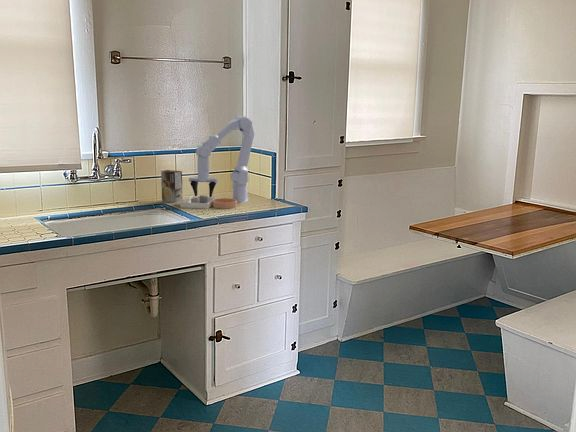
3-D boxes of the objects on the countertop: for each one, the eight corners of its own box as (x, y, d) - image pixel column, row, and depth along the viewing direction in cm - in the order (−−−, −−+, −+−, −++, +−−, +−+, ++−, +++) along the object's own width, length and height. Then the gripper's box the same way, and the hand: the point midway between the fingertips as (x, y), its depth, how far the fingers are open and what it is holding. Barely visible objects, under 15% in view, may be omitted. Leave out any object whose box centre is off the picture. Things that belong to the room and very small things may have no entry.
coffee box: (183, 201, 317) (182, 170, 313) (175, 203, 311) (174, 172, 308) (169, 200, 321) (168, 169, 317) (161, 201, 315) (160, 170, 312)
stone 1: (192, 205, 305) (192, 197, 305) (200, 205, 305) (200, 198, 304) (189, 206, 301) (189, 199, 301) (198, 207, 301) (198, 199, 300)
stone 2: (200, 202, 314) (200, 195, 313) (208, 202, 313) (208, 195, 312) (198, 203, 310) (198, 196, 309) (206, 203, 309) (206, 196, 308)
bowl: (216, 204, 311) (216, 197, 310) (239, 205, 309) (239, 198, 308) (209, 209, 300) (209, 202, 299) (233, 210, 298) (233, 203, 297)
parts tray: (192, 201, 317) (192, 196, 317) (217, 203, 315) (217, 197, 314) (180, 208, 300) (180, 202, 299) (207, 209, 298) (207, 203, 297)
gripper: (186, 169, 305) (187, 196, 308) (214, 171, 303) (214, 198, 306) (191, 168, 312) (191, 194, 315) (218, 169, 310) (218, 196, 313)
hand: (203, 196), depth 311 cm, fingers open, 7 cm apart
